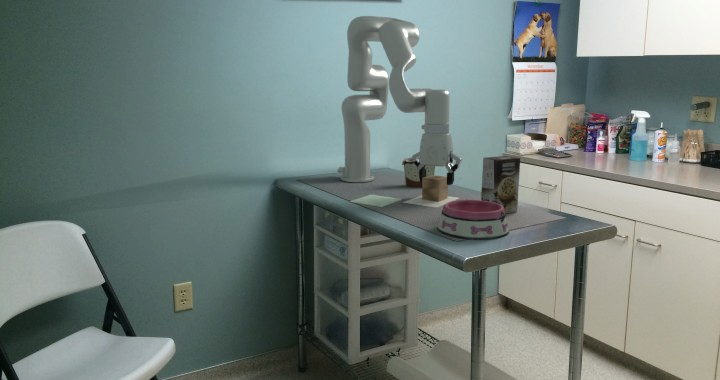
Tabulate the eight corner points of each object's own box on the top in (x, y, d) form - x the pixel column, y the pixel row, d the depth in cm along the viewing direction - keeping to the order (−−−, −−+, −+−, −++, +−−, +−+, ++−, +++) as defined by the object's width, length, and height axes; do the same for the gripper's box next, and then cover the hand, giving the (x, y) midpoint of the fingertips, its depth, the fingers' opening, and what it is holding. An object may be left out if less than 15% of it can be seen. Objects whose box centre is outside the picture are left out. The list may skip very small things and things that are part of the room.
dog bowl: (449, 218, 166) (450, 195, 165) (515, 226, 158) (517, 201, 157) (427, 235, 150) (428, 209, 149) (500, 244, 142) (501, 217, 141)
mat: (349, 202, 185) (349, 201, 185) (371, 195, 194) (371, 194, 194) (381, 207, 178) (381, 206, 178) (402, 200, 188) (402, 199, 187)
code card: (402, 202, 184) (402, 202, 184) (427, 193, 197) (427, 193, 197) (436, 208, 177) (436, 207, 177) (460, 198, 190) (460, 197, 190)
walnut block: (422, 199, 188) (422, 177, 186) (431, 196, 193) (431, 175, 191) (438, 201, 184) (439, 180, 183) (447, 198, 189) (448, 177, 188)
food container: (436, 184, 212) (436, 157, 210) (436, 188, 206) (437, 160, 204) (402, 184, 213) (402, 156, 211) (401, 187, 207) (401, 159, 205)
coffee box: (494, 215, 168) (496, 160, 165) (479, 210, 174) (481, 157, 171) (518, 212, 172) (521, 157, 169) (503, 207, 178) (506, 154, 175)
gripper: (406, 129, 186) (406, 182, 189) (456, 131, 176) (455, 187, 179) (418, 127, 192) (418, 178, 195) (467, 129, 182) (466, 183, 185)
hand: (436, 183), depth 187 cm, fingers open, 9 cm apart
